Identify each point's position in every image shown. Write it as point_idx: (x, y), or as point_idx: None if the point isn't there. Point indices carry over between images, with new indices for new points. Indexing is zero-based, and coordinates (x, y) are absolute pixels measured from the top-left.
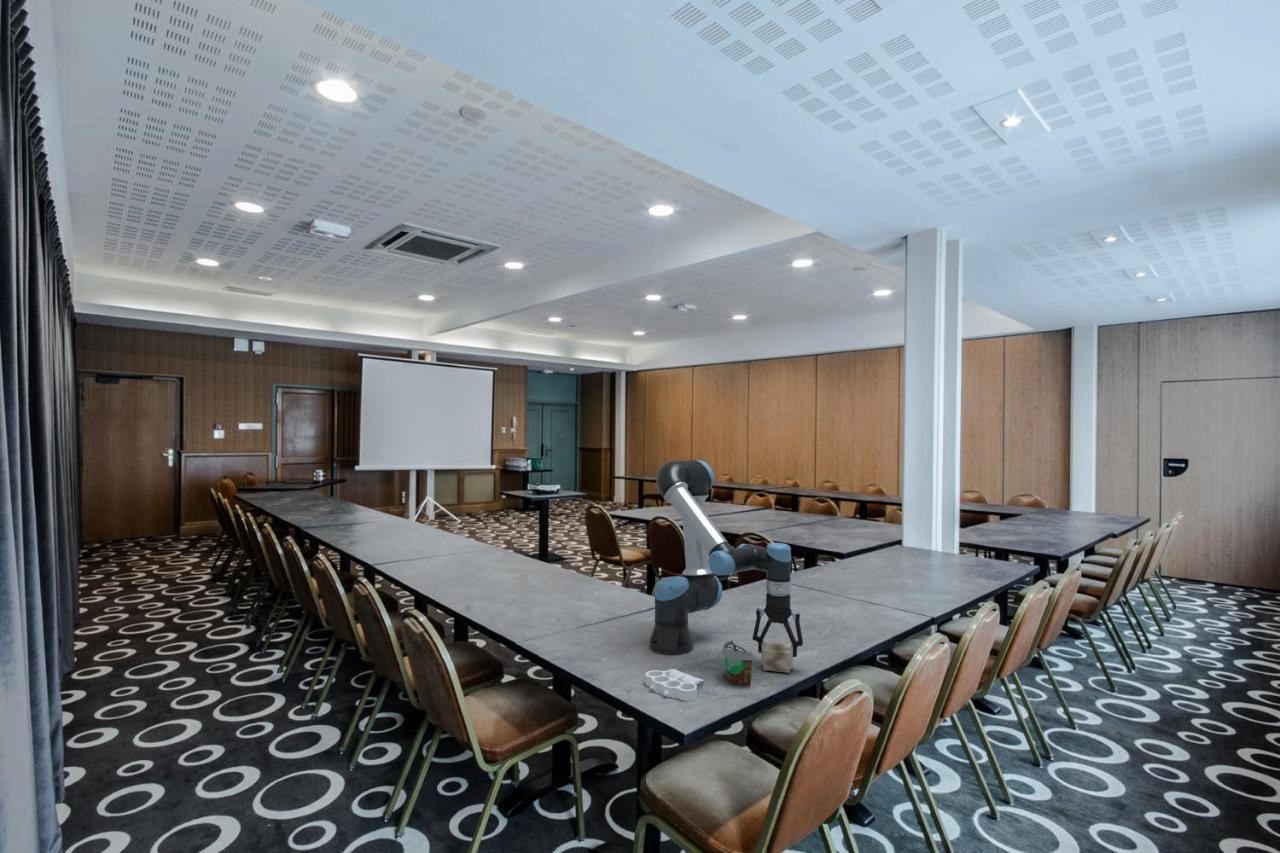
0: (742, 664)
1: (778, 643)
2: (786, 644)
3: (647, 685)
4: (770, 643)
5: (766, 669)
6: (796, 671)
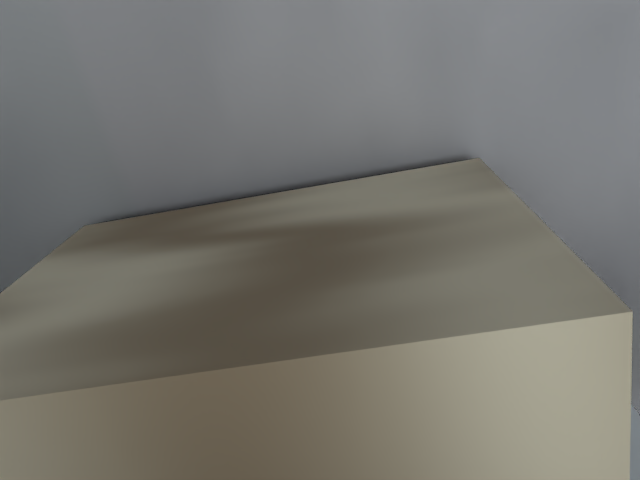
0: None
1: (220, 366)
2: (484, 351)
3: None
4: (14, 460)
5: None
6: None
